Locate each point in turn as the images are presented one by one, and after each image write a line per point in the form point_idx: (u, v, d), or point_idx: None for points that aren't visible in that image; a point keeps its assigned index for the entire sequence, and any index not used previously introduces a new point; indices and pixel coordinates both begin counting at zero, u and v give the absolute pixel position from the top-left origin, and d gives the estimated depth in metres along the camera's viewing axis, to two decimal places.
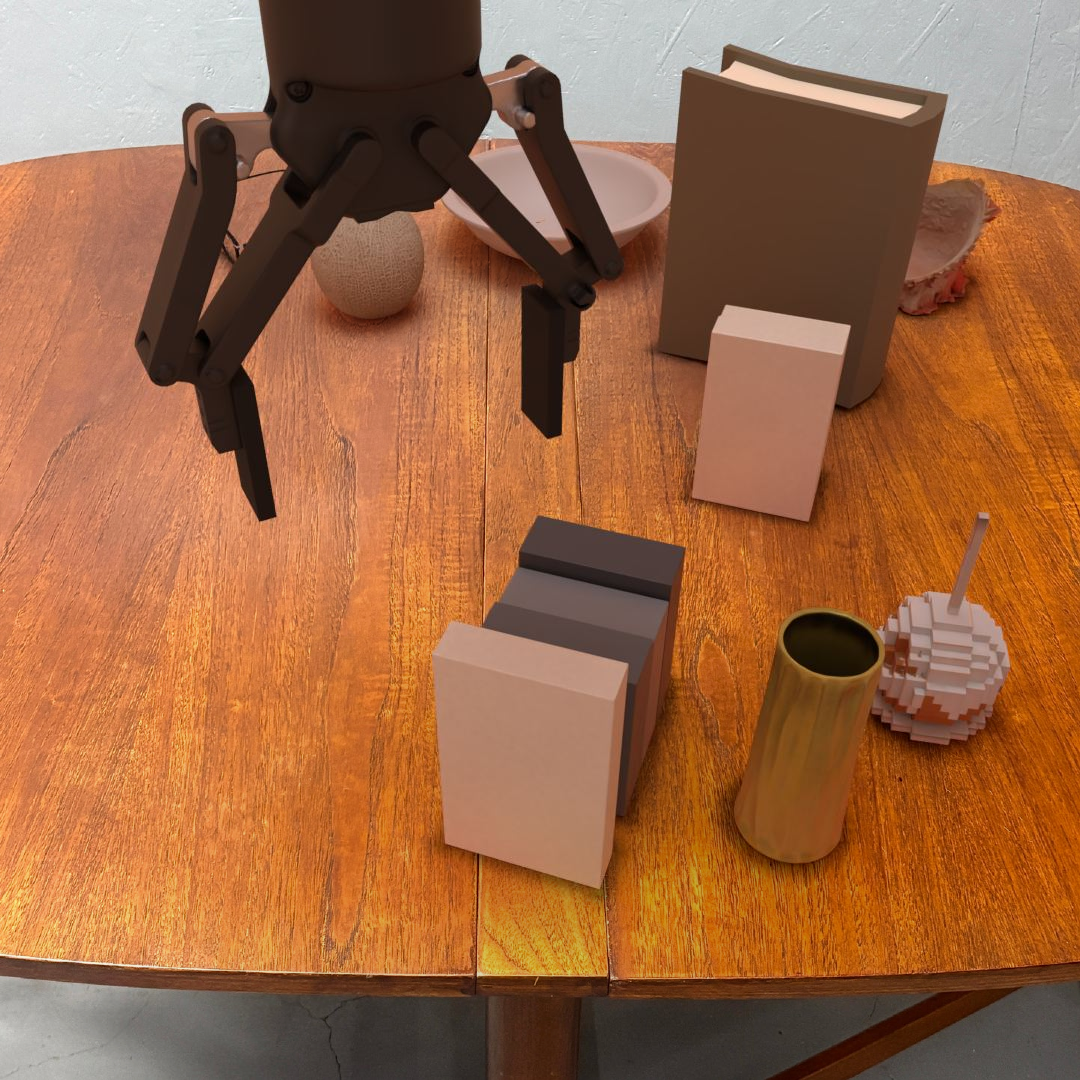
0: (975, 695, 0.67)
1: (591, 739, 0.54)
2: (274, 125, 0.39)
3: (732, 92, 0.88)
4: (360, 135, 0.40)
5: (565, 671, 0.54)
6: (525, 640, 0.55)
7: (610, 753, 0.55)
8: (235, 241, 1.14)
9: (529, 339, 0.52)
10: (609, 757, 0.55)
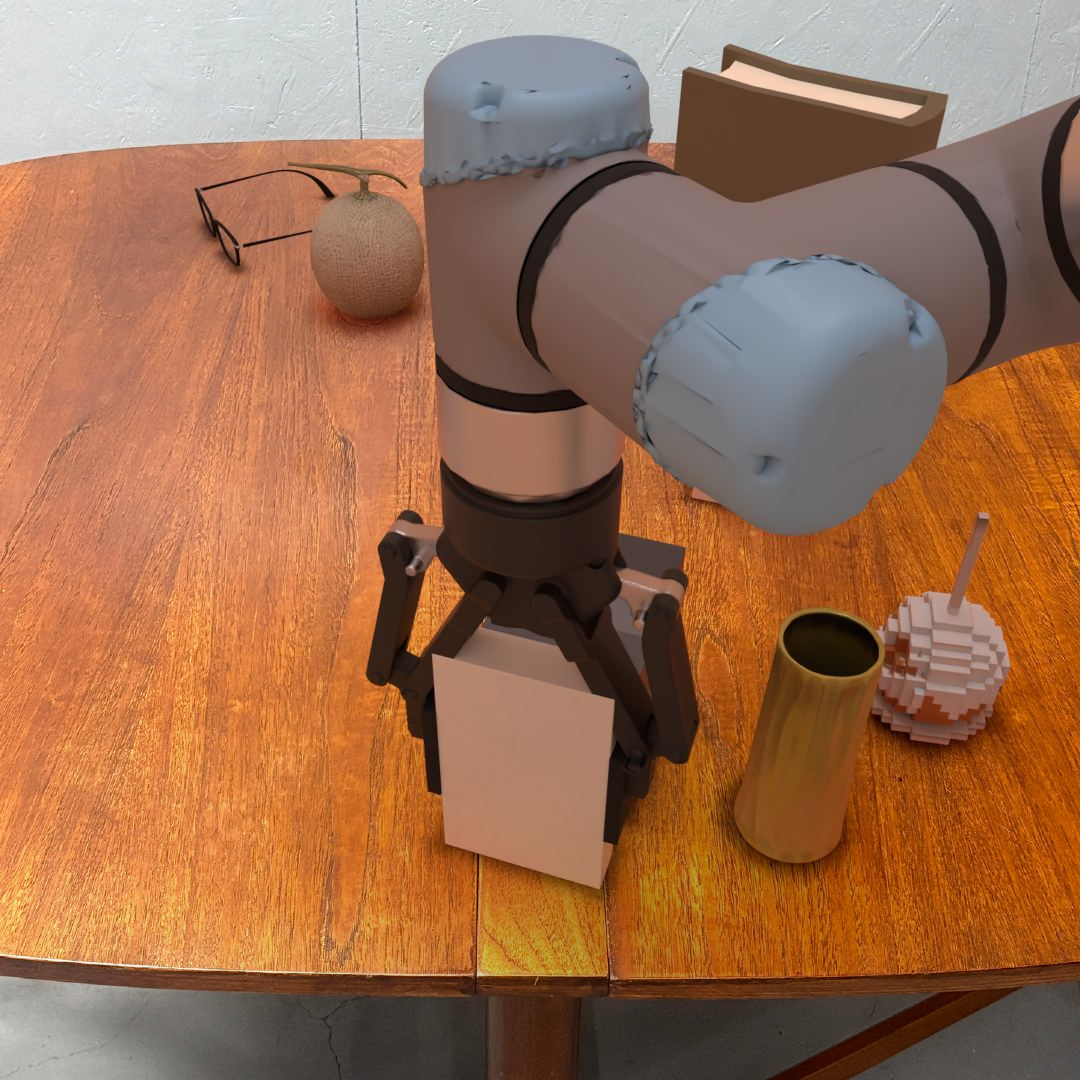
0: (975, 695, 0.67)
1: (591, 739, 0.54)
2: (437, 540, 0.50)
3: (732, 92, 0.88)
4: (487, 575, 0.49)
5: (565, 671, 0.54)
6: (525, 640, 0.55)
7: (610, 753, 0.55)
8: (235, 241, 1.14)
9: None
10: (609, 757, 0.55)
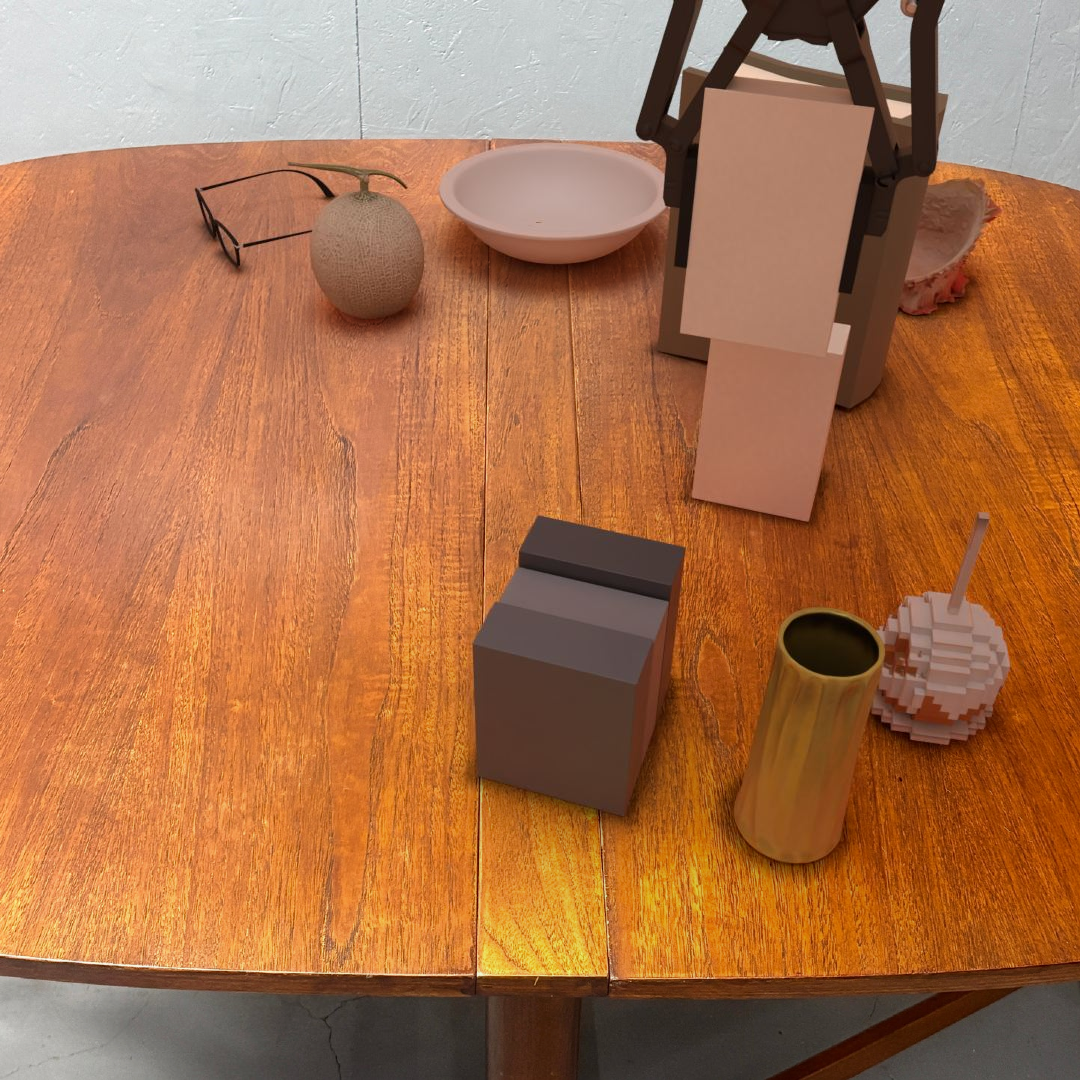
0: (975, 695, 0.67)
1: (844, 163, 0.62)
2: None
3: None
4: None
5: (825, 95, 0.61)
6: (783, 82, 0.63)
7: (860, 178, 0.62)
8: (235, 241, 1.14)
9: None
10: (859, 182, 0.62)
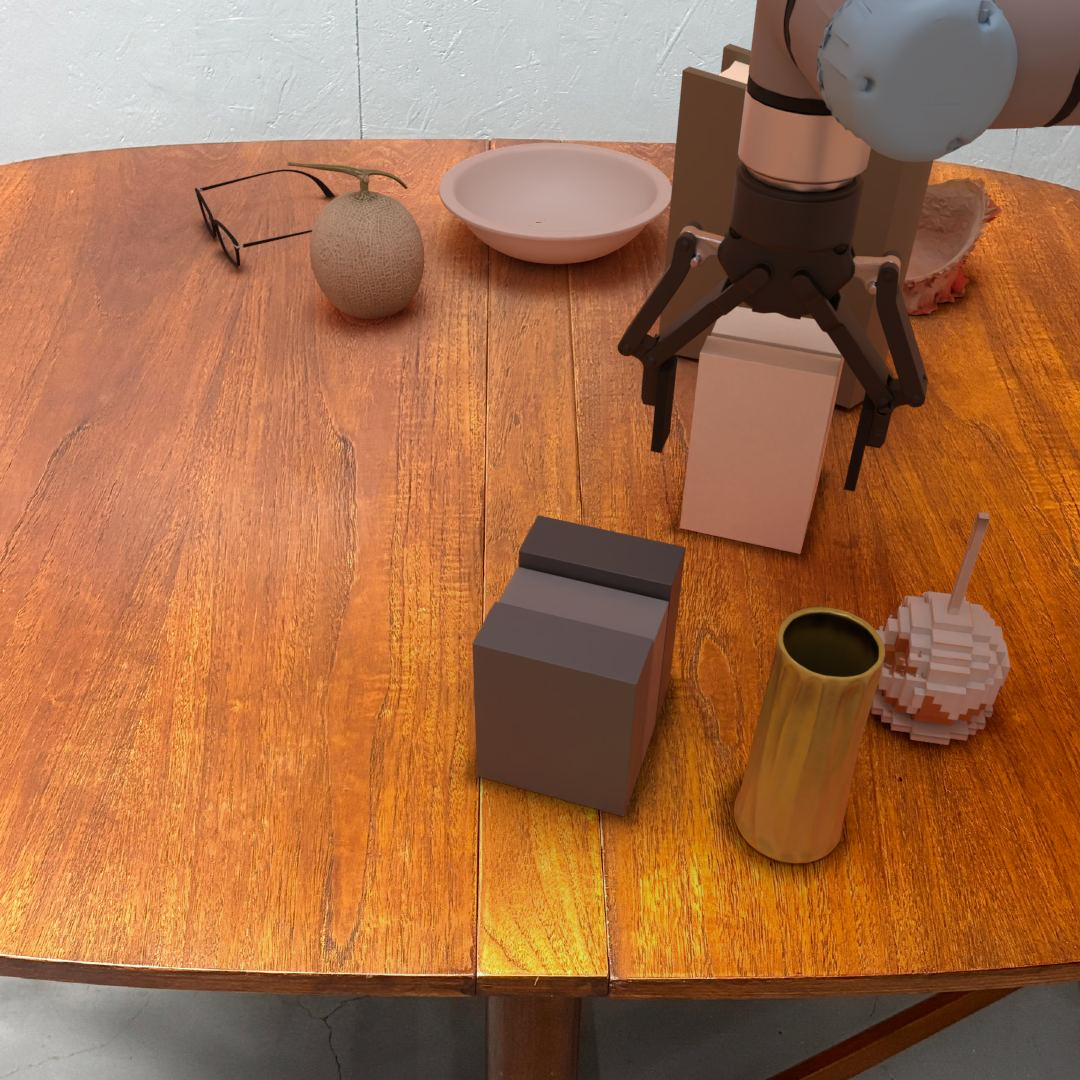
0: (975, 695, 0.67)
1: (813, 414, 0.76)
2: (720, 245, 0.71)
3: (732, 92, 0.88)
4: (761, 265, 0.71)
5: (797, 362, 0.75)
6: (764, 346, 0.77)
7: (826, 425, 0.76)
8: (235, 241, 1.14)
9: None
10: (825, 429, 0.77)
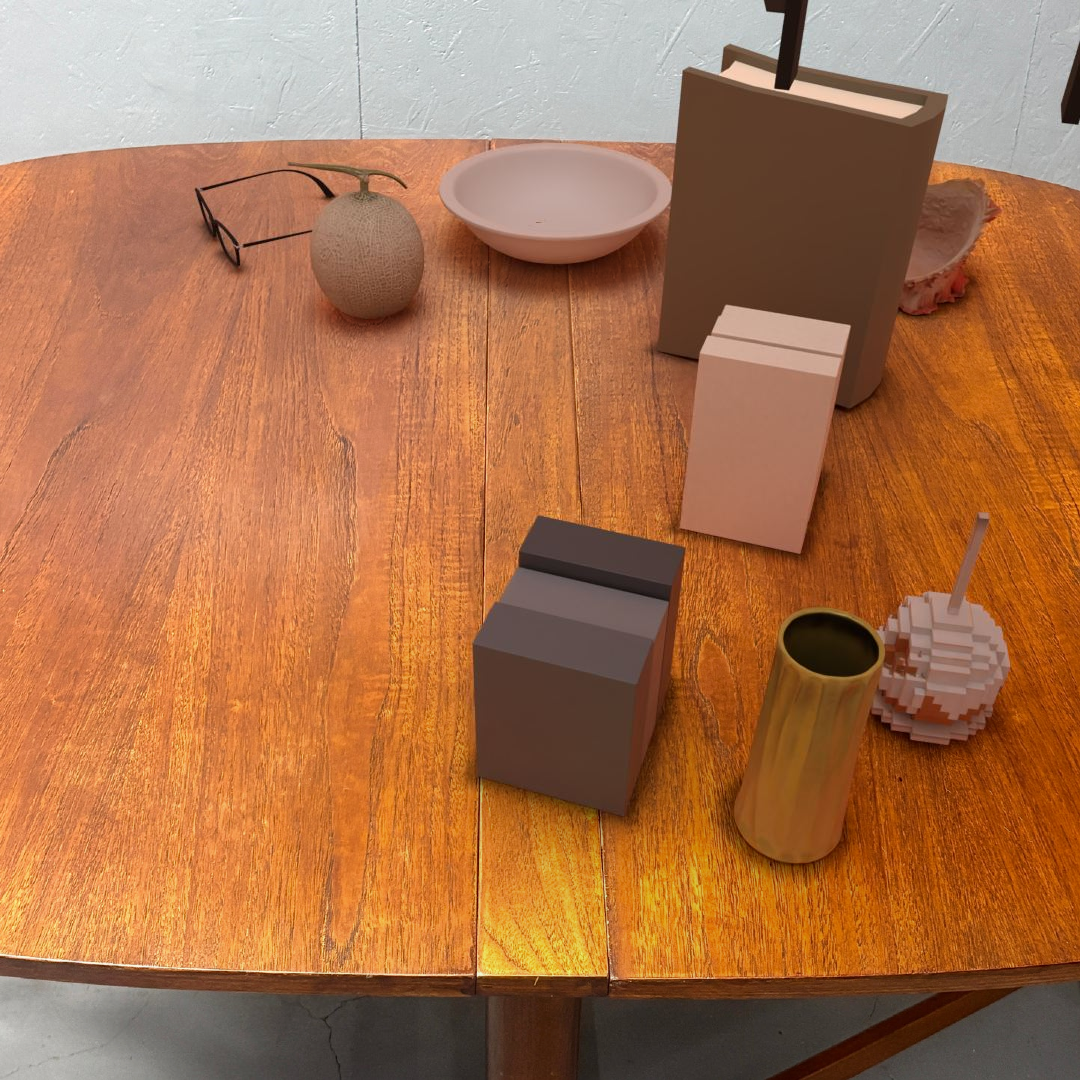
0: (975, 695, 0.67)
1: (813, 414, 0.76)
2: None
3: (732, 92, 0.88)
4: None
5: (797, 362, 0.75)
6: (764, 346, 0.77)
7: (826, 425, 0.76)
8: (235, 241, 1.14)
9: None
10: (825, 428, 0.77)
